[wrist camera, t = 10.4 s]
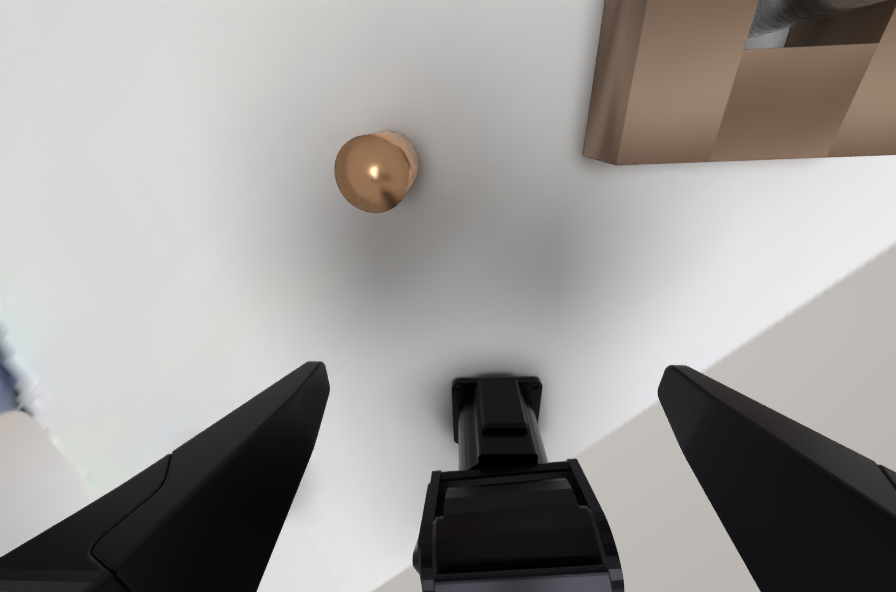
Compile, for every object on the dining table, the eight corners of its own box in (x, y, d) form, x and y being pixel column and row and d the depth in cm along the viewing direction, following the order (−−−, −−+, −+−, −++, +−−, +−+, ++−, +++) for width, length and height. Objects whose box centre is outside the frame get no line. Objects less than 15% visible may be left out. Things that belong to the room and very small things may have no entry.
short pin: (421, 191, 18) (411, 211, 14) (366, 193, 18) (342, 214, 14) (416, 129, 17) (404, 133, 13) (357, 132, 17) (327, 136, 13)
